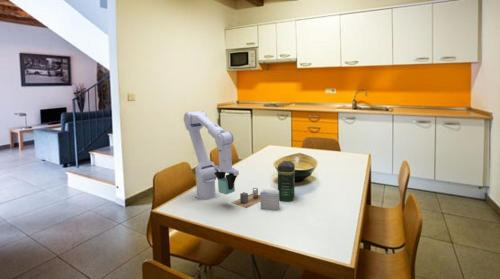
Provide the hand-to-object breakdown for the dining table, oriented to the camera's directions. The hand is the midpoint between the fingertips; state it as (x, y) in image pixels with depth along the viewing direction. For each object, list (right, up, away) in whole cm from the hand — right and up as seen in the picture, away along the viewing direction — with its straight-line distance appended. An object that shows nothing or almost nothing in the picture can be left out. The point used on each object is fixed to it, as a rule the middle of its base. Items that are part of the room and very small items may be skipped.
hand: (226, 187), depth 137 cm
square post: (+8, -8, +4) cm, 12 cm away
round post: (+13, -6, +10) cm, 18 cm away
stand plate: (+11, -8, +7) cm, 15 cm away
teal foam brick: (0, -2, 0) cm, 2 cm away
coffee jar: (+28, -7, +9) cm, 30 cm away
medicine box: (+20, -10, -2) cm, 22 cm away
